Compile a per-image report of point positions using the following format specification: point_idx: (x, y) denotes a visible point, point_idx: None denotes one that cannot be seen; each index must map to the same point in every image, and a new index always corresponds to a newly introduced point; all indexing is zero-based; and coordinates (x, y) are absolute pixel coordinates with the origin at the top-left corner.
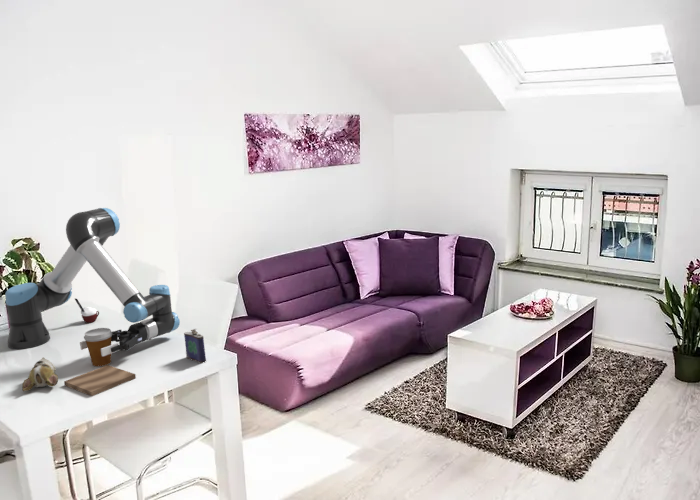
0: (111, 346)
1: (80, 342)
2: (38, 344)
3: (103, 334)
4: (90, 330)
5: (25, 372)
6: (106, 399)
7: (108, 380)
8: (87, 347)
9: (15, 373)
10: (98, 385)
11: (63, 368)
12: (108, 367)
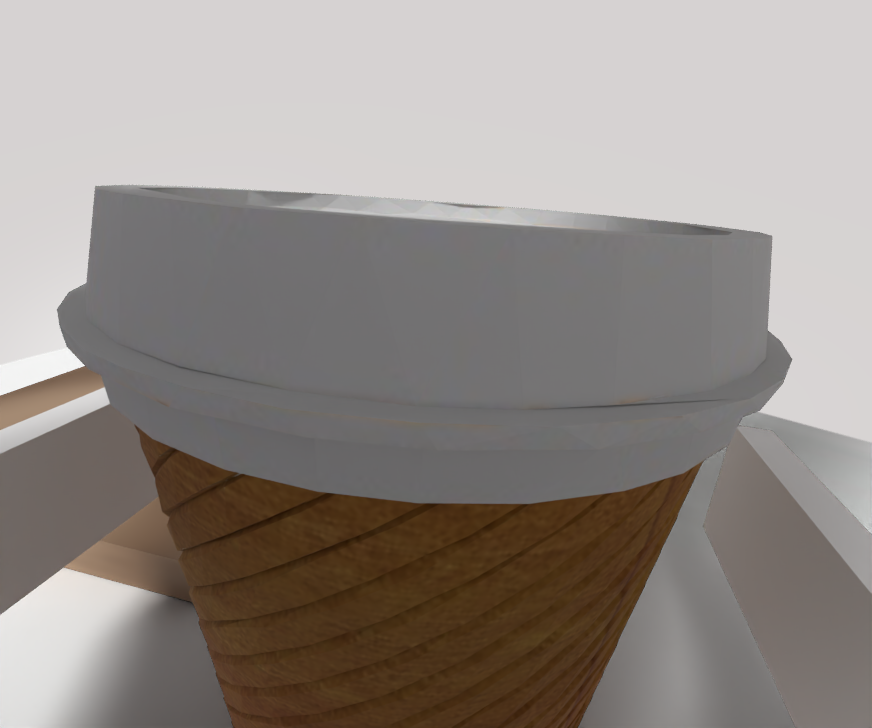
0: (85, 407)
1: (754, 430)
2: None
3: (210, 196)
4: (703, 226)
5: (808, 463)
6: (64, 357)
7: (80, 395)
8: (738, 592)
9: (834, 450)
10: None
11: (672, 539)
12: (156, 522)
